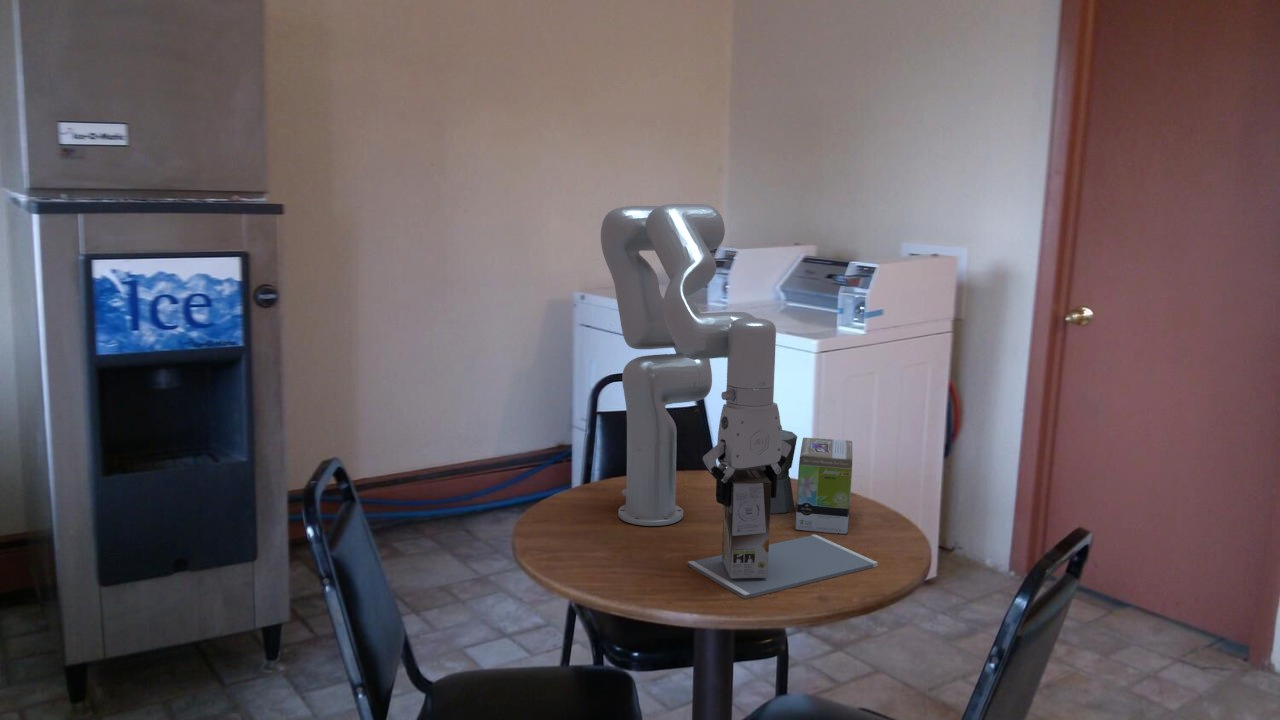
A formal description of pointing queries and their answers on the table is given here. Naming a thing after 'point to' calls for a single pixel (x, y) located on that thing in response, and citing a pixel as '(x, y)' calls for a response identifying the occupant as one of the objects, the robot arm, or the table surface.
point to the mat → (789, 566)
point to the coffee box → (747, 525)
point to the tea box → (824, 485)
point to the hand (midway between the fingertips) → (746, 499)
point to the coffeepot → (784, 479)
